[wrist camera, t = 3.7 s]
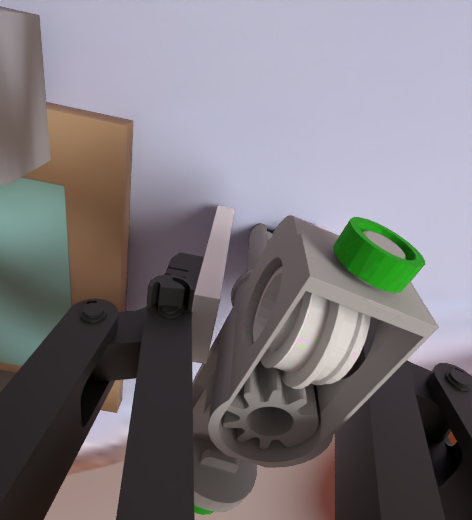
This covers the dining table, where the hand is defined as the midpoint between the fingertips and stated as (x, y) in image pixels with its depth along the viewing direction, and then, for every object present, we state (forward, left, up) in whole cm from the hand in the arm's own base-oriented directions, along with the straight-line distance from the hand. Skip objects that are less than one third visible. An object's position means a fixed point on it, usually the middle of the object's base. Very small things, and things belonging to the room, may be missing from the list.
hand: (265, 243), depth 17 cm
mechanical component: (0, 0, -1) cm, 1 cm away
